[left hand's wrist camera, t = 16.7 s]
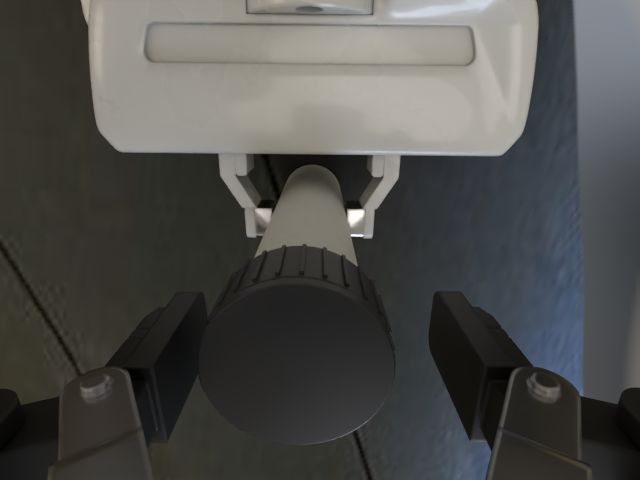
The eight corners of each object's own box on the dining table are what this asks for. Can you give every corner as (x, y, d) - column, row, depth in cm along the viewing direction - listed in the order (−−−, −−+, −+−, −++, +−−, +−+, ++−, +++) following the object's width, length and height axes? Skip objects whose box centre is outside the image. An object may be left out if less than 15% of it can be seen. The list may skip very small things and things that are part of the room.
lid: (353, 218, 10) (363, 251, 8) (401, 358, 12) (421, 419, 9) (190, 273, 11) (156, 319, 8) (258, 399, 12) (245, 466, 10)
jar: (351, 191, 26) (407, 353, 9) (313, 229, 27) (301, 436, 10) (311, 152, 25) (293, 253, 8) (273, 193, 26) (188, 356, 9)
